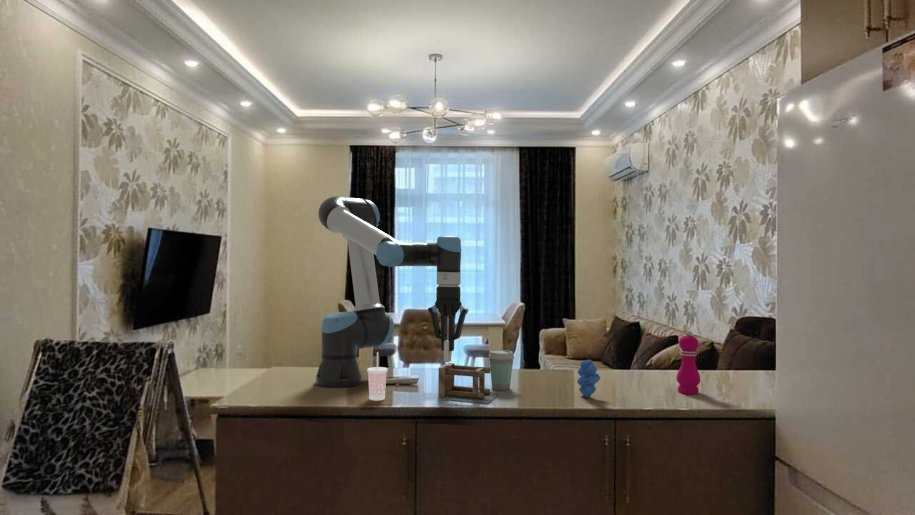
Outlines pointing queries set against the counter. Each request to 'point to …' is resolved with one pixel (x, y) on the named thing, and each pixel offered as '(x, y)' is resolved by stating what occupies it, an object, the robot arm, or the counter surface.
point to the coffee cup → (501, 368)
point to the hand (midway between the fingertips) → (447, 361)
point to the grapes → (587, 378)
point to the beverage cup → (377, 382)
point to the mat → (486, 399)
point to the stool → (449, 389)
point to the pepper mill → (688, 365)
